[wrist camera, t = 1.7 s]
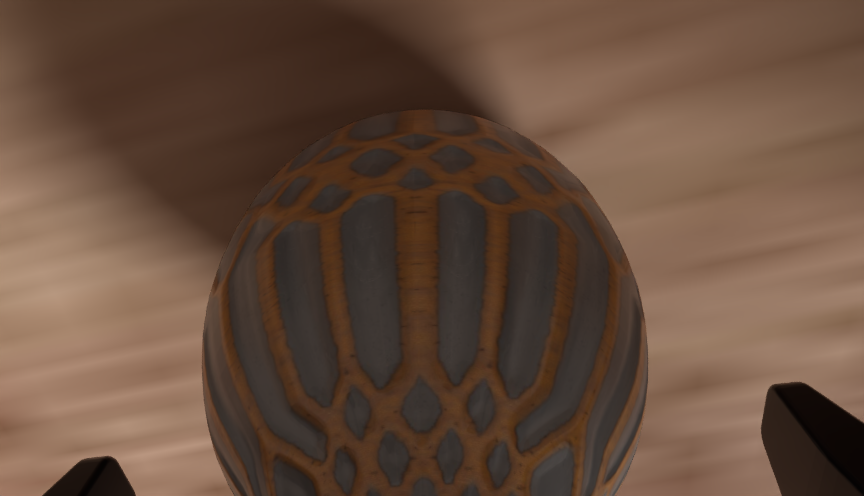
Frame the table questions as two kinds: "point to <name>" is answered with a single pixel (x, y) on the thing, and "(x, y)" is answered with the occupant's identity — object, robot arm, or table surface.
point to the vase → (424, 322)
